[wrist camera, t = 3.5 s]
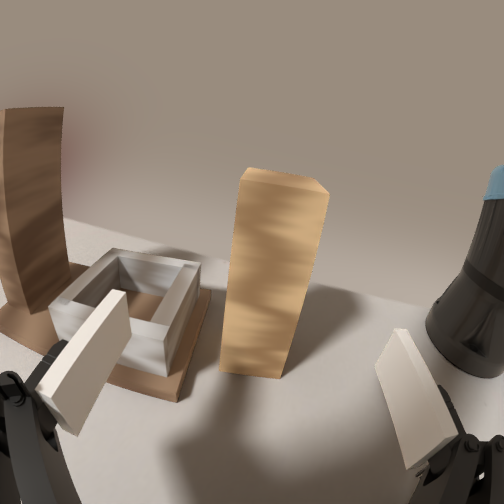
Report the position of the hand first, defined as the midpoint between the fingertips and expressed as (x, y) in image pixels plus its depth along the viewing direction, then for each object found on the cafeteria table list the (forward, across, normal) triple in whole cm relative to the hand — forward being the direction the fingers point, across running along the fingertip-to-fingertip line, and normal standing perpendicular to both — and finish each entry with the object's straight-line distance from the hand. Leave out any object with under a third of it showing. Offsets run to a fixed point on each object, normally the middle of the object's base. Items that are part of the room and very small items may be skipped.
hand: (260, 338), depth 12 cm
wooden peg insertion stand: (+8, -15, -9) cm, 19 cm away
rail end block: (+8, 0, -9) cm, 12 cm away
